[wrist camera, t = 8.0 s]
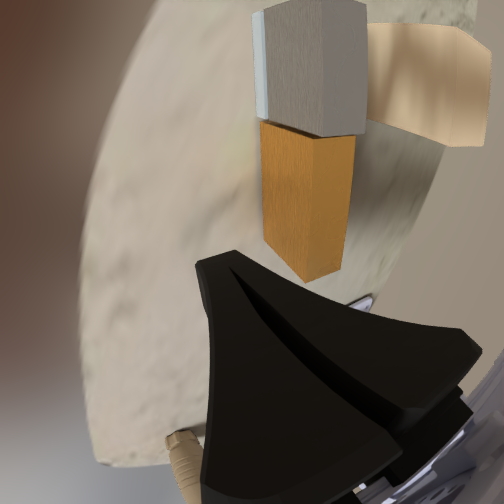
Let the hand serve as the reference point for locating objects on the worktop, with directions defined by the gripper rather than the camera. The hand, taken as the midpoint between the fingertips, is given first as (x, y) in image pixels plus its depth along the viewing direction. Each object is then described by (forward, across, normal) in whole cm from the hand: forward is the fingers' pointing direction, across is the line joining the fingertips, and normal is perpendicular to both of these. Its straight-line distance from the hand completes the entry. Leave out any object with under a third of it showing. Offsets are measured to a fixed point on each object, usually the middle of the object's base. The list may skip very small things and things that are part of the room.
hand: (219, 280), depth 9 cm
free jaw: (+5, -5, -3) cm, 8 cm away
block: (+4, -11, -6) cm, 14 cm away
